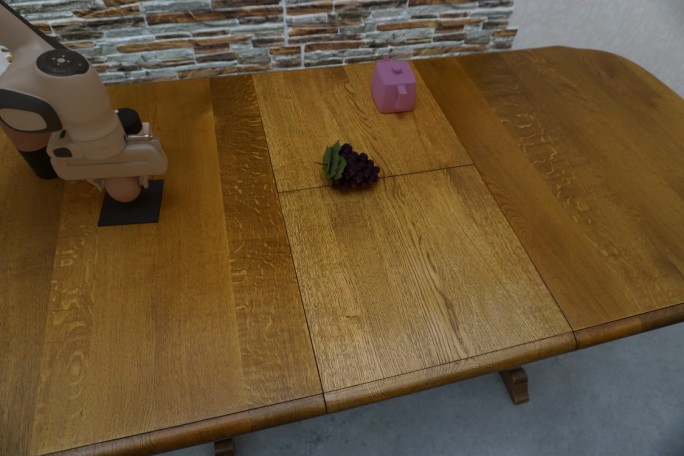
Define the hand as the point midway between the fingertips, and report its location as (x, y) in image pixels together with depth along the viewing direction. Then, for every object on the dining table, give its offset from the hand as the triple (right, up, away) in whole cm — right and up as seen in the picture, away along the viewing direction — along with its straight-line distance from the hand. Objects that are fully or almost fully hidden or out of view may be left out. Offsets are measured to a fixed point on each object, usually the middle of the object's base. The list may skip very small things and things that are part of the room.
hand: (124, 187), depth 95 cm
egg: (0, -2, +3) cm, 3 cm away
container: (-2, +7, +12) cm, 14 cm away
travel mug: (-20, +5, +9) cm, 23 cm away
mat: (0, -3, +4) cm, 5 cm away
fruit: (+46, +2, +10) cm, 47 cm away
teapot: (+58, +26, +29) cm, 70 cm away
